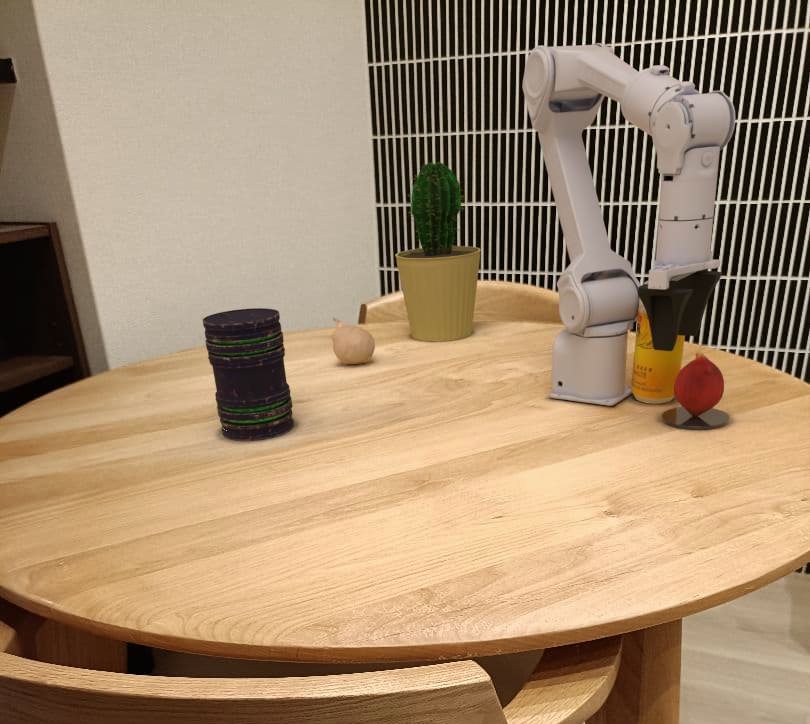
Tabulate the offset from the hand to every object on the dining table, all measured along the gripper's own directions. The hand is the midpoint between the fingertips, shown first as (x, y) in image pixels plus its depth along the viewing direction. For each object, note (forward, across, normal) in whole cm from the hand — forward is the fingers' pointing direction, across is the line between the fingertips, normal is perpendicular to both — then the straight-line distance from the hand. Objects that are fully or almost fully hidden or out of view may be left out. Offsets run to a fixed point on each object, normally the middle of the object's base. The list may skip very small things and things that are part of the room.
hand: (675, 342), depth 96 cm
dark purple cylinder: (+10, -24, +48) cm, 54 cm away
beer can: (+10, +10, +6) cm, 15 cm away
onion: (+10, +4, -2) cm, 11 cm away
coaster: (+10, +4, -2) cm, 11 cm away
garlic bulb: (+10, +8, +57) cm, 59 cm away
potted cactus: (+10, +32, +56) cm, 65 cm away
